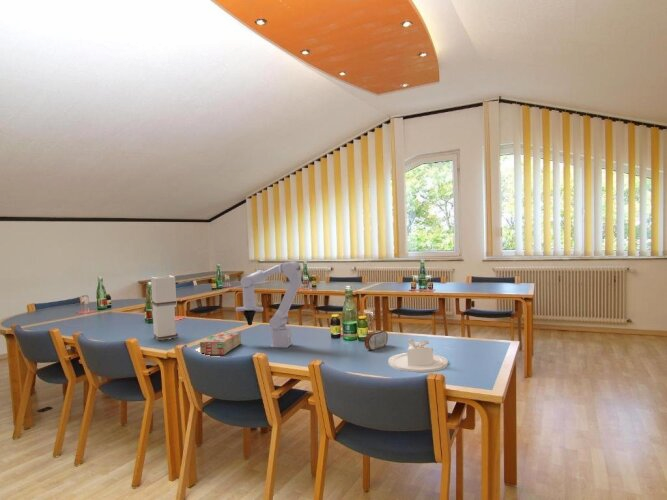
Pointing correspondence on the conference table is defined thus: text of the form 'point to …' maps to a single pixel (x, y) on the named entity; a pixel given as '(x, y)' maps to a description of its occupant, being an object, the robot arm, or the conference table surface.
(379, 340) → the slice of bread
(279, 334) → the robot arm
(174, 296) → the white mini fridge
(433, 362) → the dish
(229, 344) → the printed cardboard box
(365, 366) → the conference table surface
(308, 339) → the conference table surface
